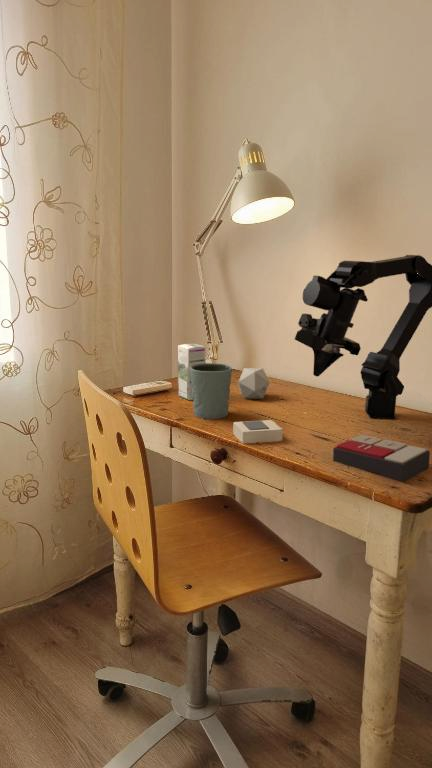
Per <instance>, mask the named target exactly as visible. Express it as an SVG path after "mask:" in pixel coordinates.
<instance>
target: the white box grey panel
mask: <svg viewBox="0 0 432 768" xmlns="http://www.w3.org/2000/svg"><path fill="white" fill-rule="evenodd" d="M232 430H233V431H232V434H233V435H234V436H235V437H236V438H237V440H238V441H239V442H240V441H241V442H242V443H244V444H257V443H256V442H259V443H271V442H272V443H273V441H274V442H282V441H283V428H282V427H281V426H279V425H278V424H277V423H275V421H273V420H272V419H267V420H266V419H265V420H250V421H249V420H247V421H234V422H233V424H232ZM241 442H240V443H241ZM242 443H241V444H242Z"/></svg>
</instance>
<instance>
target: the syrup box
mask: <svg viewBox="0 0 432 768" xmlns="http://www.w3.org/2000/svg"><path fill="white" fill-rule="evenodd" d="M202 363H206V346H204V345H200V344H196V343H183V344H178V345H177V396H178V397H181V398H183V399H185V400H187V401H194V399H193V393H192V392H193V391H192V389H193V386H192V382H191V370H190V367H191V366H193V365H196V364H202Z"/></svg>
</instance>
